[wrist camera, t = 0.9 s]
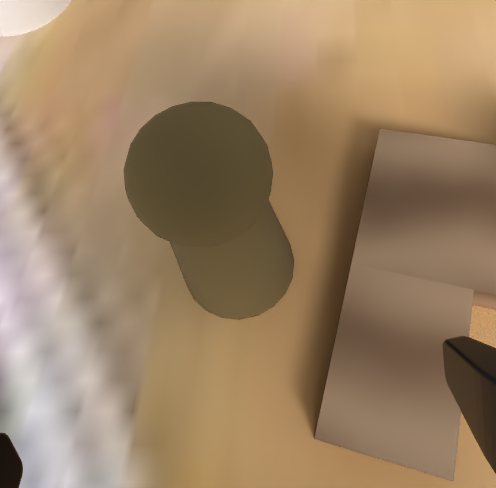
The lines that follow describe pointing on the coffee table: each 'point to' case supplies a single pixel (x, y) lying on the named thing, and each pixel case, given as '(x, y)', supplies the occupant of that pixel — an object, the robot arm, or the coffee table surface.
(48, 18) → the upright rounded white block
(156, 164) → the olive bulb shape
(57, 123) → the coffee table surface
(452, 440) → the notched board
